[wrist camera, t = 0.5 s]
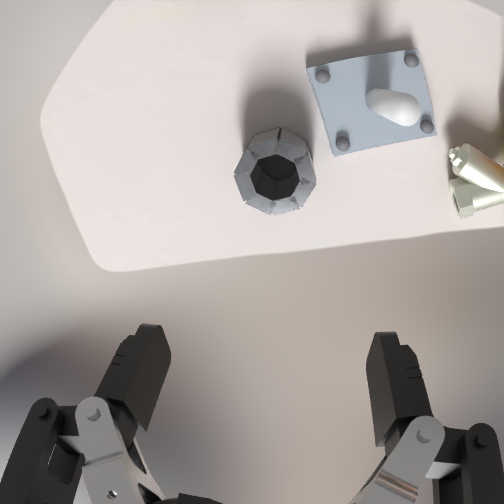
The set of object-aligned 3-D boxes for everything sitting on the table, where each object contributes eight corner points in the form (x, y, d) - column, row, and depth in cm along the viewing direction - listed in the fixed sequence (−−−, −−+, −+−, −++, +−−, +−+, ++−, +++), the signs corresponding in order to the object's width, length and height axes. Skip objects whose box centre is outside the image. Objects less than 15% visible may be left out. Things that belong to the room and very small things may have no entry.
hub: (300, 121, 25) (301, 130, 21) (318, 182, 28) (322, 203, 24) (236, 140, 27) (225, 153, 23) (257, 198, 30) (251, 221, 25)
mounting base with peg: (411, 49, 20) (454, 43, 13) (430, 131, 24) (475, 156, 16) (306, 68, 23) (311, 64, 15) (332, 152, 26) (346, 183, 19)
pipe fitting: (437, 145, 24) (453, 205, 27) (446, 157, 21) (462, 224, 24) (503, 126, 20) (515, 187, 22) (519, 136, 17) (529, 204, 20)
